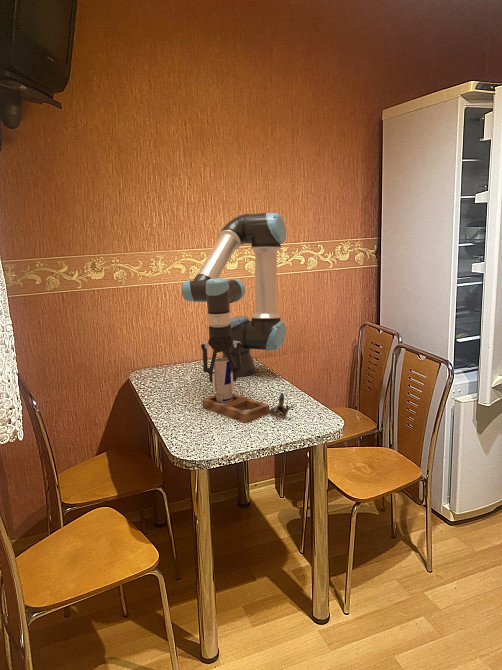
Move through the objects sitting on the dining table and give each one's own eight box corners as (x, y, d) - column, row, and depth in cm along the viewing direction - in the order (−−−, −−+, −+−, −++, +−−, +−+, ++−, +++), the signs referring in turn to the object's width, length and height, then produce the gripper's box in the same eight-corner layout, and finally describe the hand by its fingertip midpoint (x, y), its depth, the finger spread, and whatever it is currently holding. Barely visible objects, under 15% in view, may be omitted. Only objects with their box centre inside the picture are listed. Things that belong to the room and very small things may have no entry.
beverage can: (230, 403, 189) (227, 361, 186) (214, 403, 190) (211, 361, 187) (234, 398, 194) (231, 357, 191) (218, 398, 196) (216, 357, 192)
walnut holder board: (202, 407, 193) (202, 399, 193) (226, 399, 201) (226, 391, 200) (245, 423, 177) (245, 414, 177) (269, 413, 185) (269, 404, 184)
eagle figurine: (300, 412, 182) (288, 399, 189) (290, 398, 178) (278, 385, 185) (281, 426, 181) (270, 413, 188) (271, 413, 177) (260, 399, 185)
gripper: (190, 328, 183) (195, 395, 188) (246, 326, 182) (250, 393, 188) (193, 323, 190) (198, 388, 196) (247, 321, 190) (251, 386, 195)
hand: (223, 390), depth 192 cm, fingers closed on beverage can, 5 cm apart
